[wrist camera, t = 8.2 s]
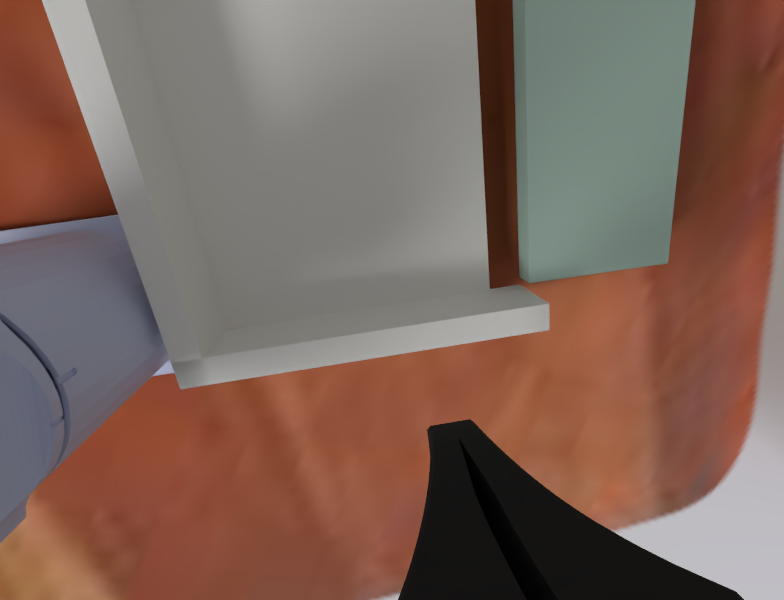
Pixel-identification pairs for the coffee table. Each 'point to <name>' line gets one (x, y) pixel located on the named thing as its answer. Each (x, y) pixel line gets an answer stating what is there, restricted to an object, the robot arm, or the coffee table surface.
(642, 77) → the panel
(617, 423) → the coffee table surface
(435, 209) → the grey open tray
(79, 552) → the coffee table surface
